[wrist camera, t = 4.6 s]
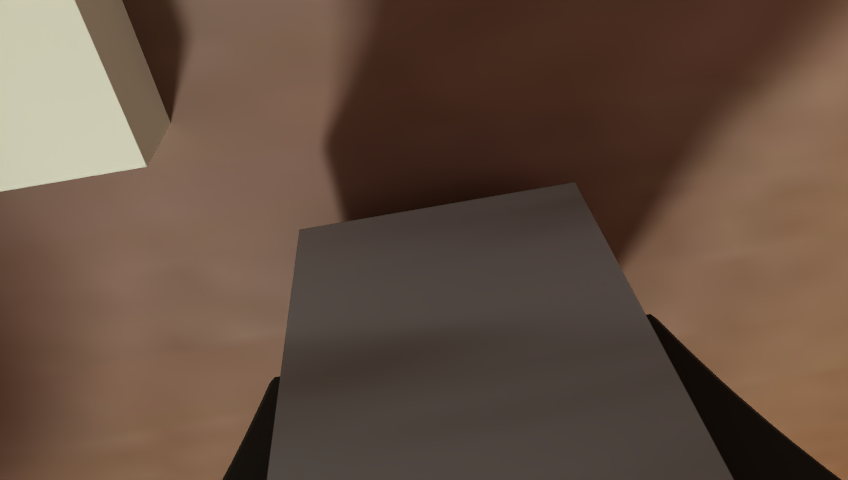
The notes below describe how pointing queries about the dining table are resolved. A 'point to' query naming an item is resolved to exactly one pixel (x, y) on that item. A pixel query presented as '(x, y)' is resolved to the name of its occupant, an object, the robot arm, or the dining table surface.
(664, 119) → the dining table surface
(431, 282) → the slate block
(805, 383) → the dining table surface
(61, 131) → the cream square slab
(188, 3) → the dining table surface
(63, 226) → the dining table surface
